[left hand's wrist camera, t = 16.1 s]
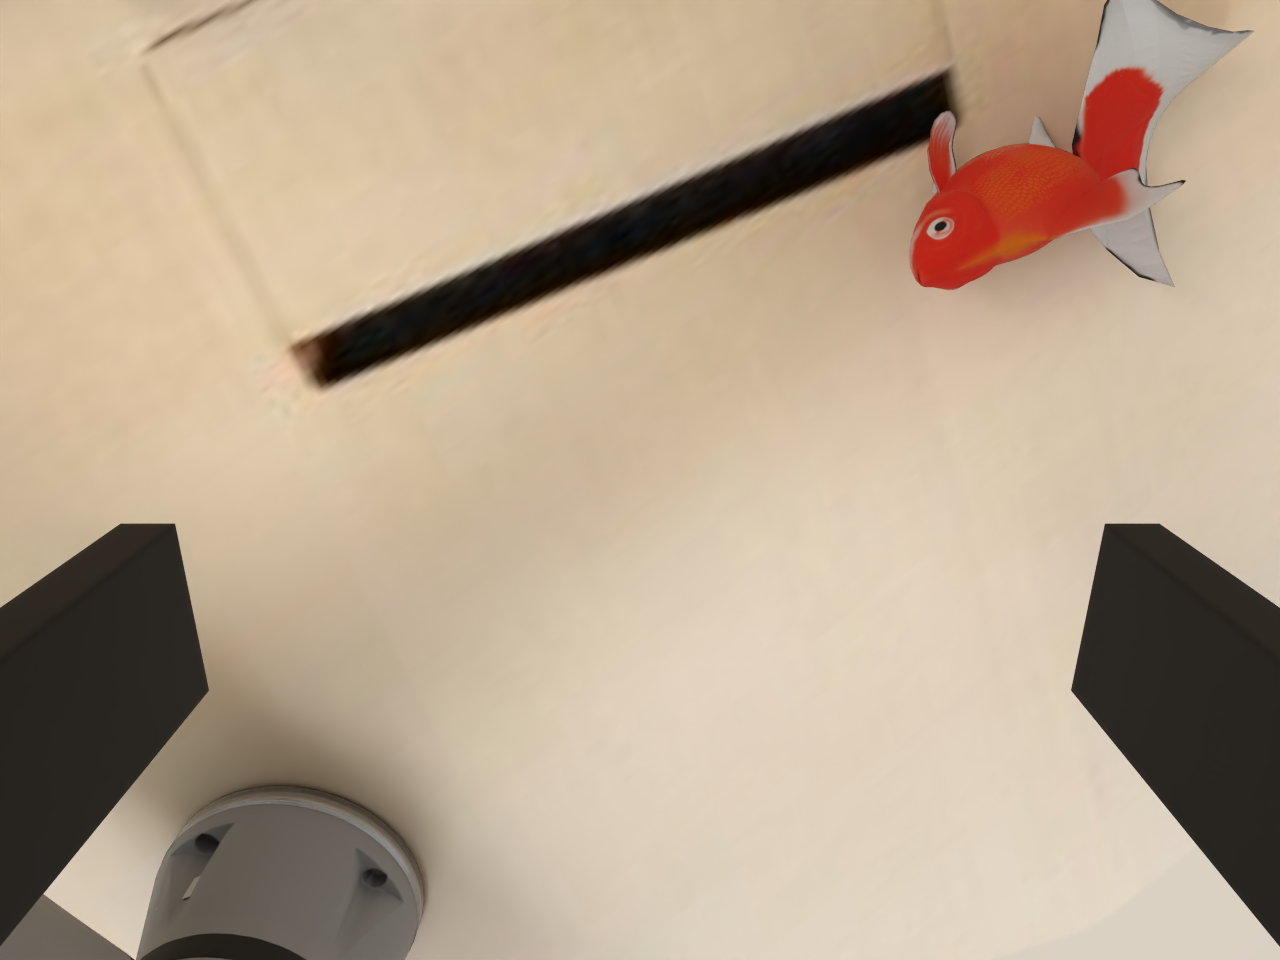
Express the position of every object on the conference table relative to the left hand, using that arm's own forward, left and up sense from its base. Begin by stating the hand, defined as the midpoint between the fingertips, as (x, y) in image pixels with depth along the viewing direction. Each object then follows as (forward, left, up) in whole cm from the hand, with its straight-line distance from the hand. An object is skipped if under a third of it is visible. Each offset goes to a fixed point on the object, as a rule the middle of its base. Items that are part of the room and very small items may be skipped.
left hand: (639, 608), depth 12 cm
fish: (+11, -15, -30) cm, 35 cm away
